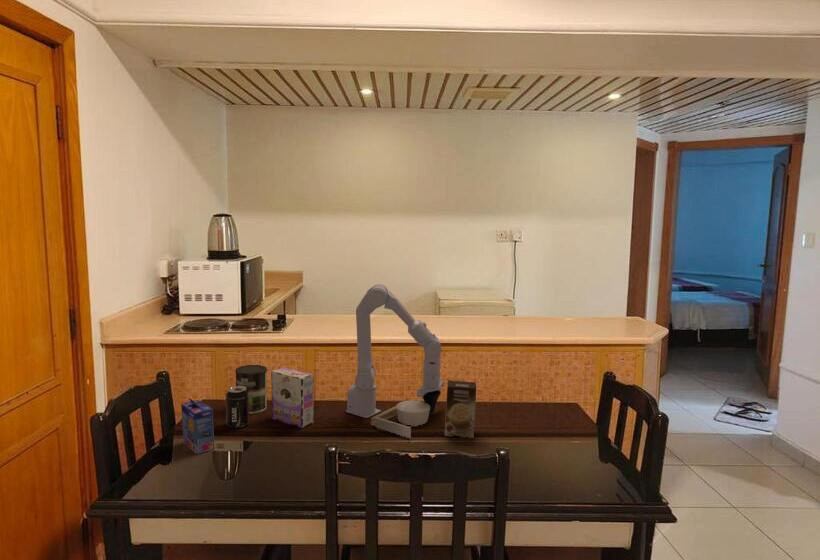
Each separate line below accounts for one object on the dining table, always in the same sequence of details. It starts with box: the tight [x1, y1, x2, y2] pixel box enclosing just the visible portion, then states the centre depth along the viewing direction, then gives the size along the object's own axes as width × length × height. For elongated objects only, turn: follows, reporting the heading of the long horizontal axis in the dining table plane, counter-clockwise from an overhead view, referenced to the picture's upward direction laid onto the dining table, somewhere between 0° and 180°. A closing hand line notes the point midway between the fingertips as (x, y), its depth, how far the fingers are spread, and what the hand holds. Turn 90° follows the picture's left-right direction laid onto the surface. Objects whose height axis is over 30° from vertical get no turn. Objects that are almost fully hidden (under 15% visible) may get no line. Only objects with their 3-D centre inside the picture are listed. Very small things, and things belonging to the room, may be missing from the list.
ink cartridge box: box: [180, 397, 215, 455], centre depth 151 cm, size 10×6×14 cm, turn 44°
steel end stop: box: [375, 417, 412, 439], centre depth 164 cm, size 13×1×4 cm, turn 56°
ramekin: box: [395, 400, 430, 427], centre depth 174 cm, size 11×11×5 cm
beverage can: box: [225, 385, 250, 429], centre depth 167 cm, size 7×7×12 cm
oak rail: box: [370, 405, 398, 426], centre depth 175 cm, size 2×14×2 cm, turn 146°
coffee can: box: [235, 364, 268, 415], centre depth 181 cm, size 10×10×14 cm
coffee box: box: [444, 379, 477, 439], centre depth 165 cm, size 9×6×16 cm
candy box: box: [270, 367, 315, 429], centre depth 171 cm, size 14×6×16 cm, turn 58°
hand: (430, 411), depth 181 cm, fingers closed
